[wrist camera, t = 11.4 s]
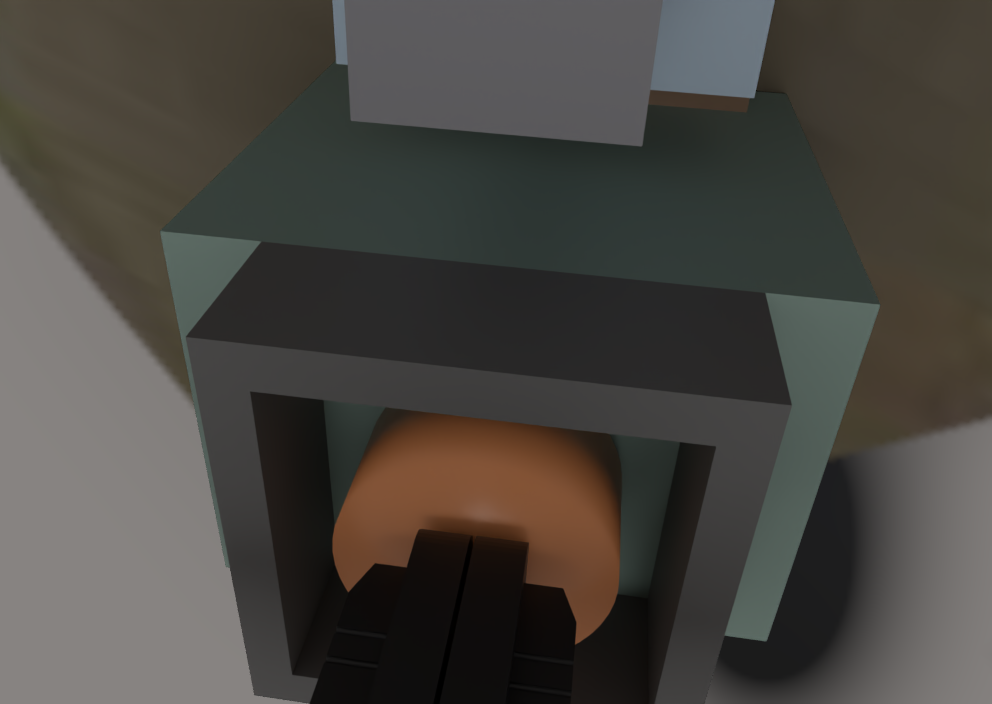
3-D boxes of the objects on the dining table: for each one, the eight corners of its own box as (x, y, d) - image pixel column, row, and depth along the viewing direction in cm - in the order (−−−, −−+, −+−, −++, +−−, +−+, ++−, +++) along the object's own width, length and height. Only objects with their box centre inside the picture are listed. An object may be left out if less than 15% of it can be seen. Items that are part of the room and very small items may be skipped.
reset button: (363, 354, 13) (322, 441, 11) (638, 385, 12) (637, 480, 11) (374, 546, 15) (341, 642, 13) (606, 576, 15) (602, 679, 13)
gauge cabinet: (319, 55, 20) (30, 319, 10) (786, 93, 19) (932, 421, 9) (338, 315, 24) (140, 678, 14) (725, 358, 23) (786, 774, 13)
